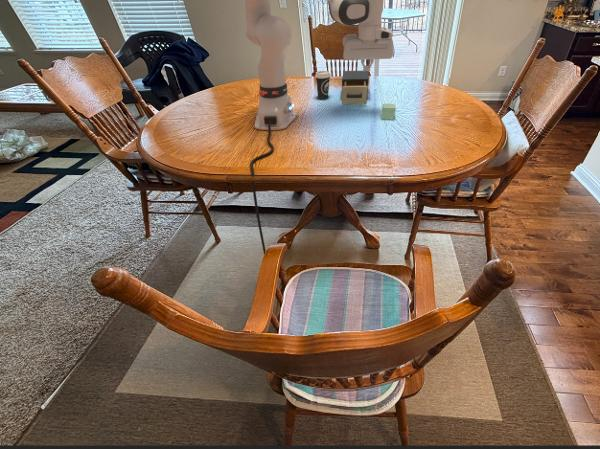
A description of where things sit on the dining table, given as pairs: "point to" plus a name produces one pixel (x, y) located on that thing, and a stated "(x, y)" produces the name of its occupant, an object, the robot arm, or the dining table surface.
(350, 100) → the drawer
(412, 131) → the dining table surface
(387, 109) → the block
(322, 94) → the coffee cup
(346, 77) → the cabinet
